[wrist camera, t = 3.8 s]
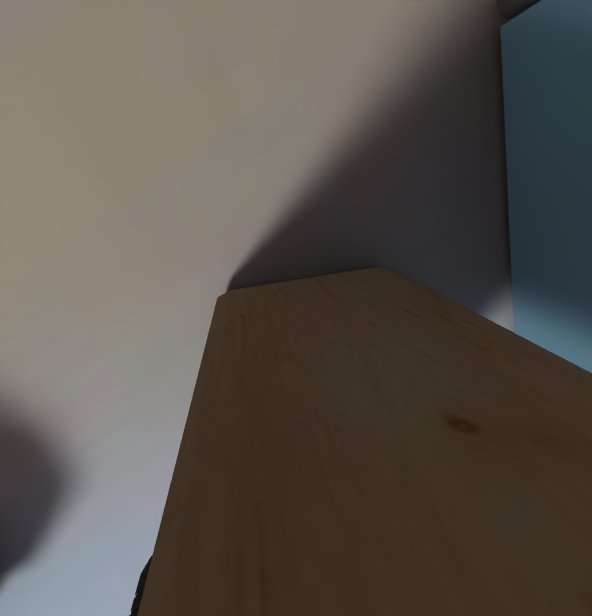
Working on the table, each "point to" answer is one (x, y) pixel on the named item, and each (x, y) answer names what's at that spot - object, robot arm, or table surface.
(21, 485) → the table surface
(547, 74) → the door
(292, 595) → the wooden block
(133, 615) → the robot arm
